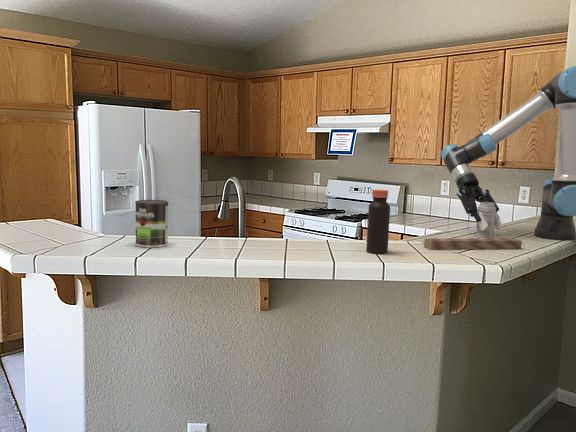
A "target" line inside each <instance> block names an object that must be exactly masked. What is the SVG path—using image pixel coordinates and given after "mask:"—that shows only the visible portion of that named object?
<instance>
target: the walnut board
mask: <svg viewBox="0 0 576 432" xmlns="http://www.w3.org/2000/svg"><path fill="white" fill-rule="evenodd" d="M522 242H523V241H522V240H520V239H517V238H514V237H503V238H502V237H494V238H476V237H475V238H473V237H470V238H469V237H467V238H464V237H463V238H462V237H460V238H459V237H457V238H453V237H452V238H448V237H447V238H446V237H445V238H443V237H442V238H430V237H429V238H424V241H423V248H425V249H428V250H430V251H455V250H456V251H457V250H458V251H463V250H462V249H490V250H521V249H522V244H523V243H522Z"/></svg>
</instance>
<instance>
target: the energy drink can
mask: <svg viewBox="0 0 576 432" xmlns="http://www.w3.org/2000/svg"><path fill="white" fill-rule="evenodd" d="M495 203H496V202H495ZM495 203H490V202H479V205H478V206H477V209H478V212H481V214H482V215H483V217H484V219H485V221H486V223H487V224H488V227H487V228H486V229H485V230H484V231H482V229H481V227H480V225H479V223H478V222H477V221H476V228H475V229H476V230H475V238H495V237H494V235H495V228H496V227H495V215H496V207H495V205H494V204H495Z"/></svg>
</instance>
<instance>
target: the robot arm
mask: <svg viewBox="0 0 576 432" xmlns="http://www.w3.org/2000/svg"><path fill="white" fill-rule="evenodd" d="M556 108H557V110H558V113H559V114H558V134H557V135H558V137H557V157H556V159H557V161H556V162H557V163H556V174H555V176H554V177H553V178H549V179H546V180H544V182H543V186H542V197H541V198H542V199H541V207H540V208H541V209H540V216H539V219H538V221H537V224H536V225H535V226H536V227H535V228H534V230H533V231H534V232H533V235H534V236H536V237H539V238H543V239H549V240H561V241H562V240H563V241H565V240H566V241H573V240H576V228H575V224H574V223H575V222H574V217H575V216H576V65H574V66H570V67H567V68H565V69H564V70H562V71H561V72H559V73H557V74H556V75H555V76H554V77H553V78H551V80H549V81H548V82H547V83H546V84H545V85H544V86H542V87H541V88H539V89H538V90H537V91H536V94H535V95H534V96H532V97H531V98H530V99H528V100H526V101H525V102H523V103H522V104H521V105H519V106H517V108H515V109H514V110H512V111H511V112H509V113H508V114H506V115H505V116H503V117H502V118H501V119H499V120H498V121H496V122H495V123H494V124H492V125H491V126H488V127H487V128H486V129H485V130H483V131H482V132H481V133H479V134H477V135H476V136H475V137H473V138H471V139H469V140H468V141H467V142H466V143H464V144H462V145H460V146H459V145H457V144H456V143H452V144H448V145H446V146H445V147H444V148H443V149H442V150H441V153H440V157H441V159H442V161H443V163H444V164H445V166H446V169H447V170H448V172H449V173H450V176H451V177H452V179H453V181H454V182H455V185H456V186H457V188H458V191H457V192H456V196H457V198H458V199H460V202H461V204H462V207H463V208H464V210H465V213H466V215H469V216H470V217H471V218H474V220H475V221H476V223H477V222H478V223H479V225H480V227H481V229H482V231H484V230H485V229H486V228H487V227H488V224H487V223H486V221H485V219H484V217H483V215H482V214H481V212H478V206H477V202H478V203H480V202H490V203H495V204H494V205H495V207H496V215H495V227H494V228H495V229H496V230H497V231H500V230H501V229H502V228H503V227H504V224H503V223H502V221H501V219H500V218H501V217H500V216H499V214H498V212H499V210H500V208H499V206H498V204H497V203H496V201H495V199H494V198H493V197H492V195H491V193H490V191H489V189H488V188H486V189H485V190H484V189H482V188H481V187H480V186H479V184H480V182H479V180H478V178H477V176H476V174H475V172H474V171H473V169H472V167H471V166H470V164H472V163H473V162H475V161H477V160H479V159H481V158H484V157H486V156H488V155H490V154H491V153H493V152H495V151H496V150H497V145H499V144H501V143H502V142H503V141H504V140H506V139H507V138H509V137H510V136H512V135H514V134H515V133H517V132H518V131H519V130H521V129H522V128H524V127H525V126H526V125H529V123H531V122H533V121H534V120H535V119H537V118H538V117H540V116H542V115H543V114H544V113H546V112H548V111H553V110H555V109H556Z"/></svg>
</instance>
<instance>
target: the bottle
mask: <svg viewBox="0 0 576 432" xmlns="http://www.w3.org/2000/svg"><path fill="white" fill-rule="evenodd" d="M388 195H389V190H387V189H372V193H371V196H372V201H371V203H370V204H369V205H368V213H367V214H368V215H367V231H366V232H367V233H366V249H365V250H366V252H367V253H369V254H374V255H375V254H376V255H384V254H385V255H386V254H388V253H389V252H388V249H389V231H390V217H391V214H390V213H391V205H390V204H389V203H388V202H387V200H388V199H389V198H388V197H389V196H388Z"/></svg>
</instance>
